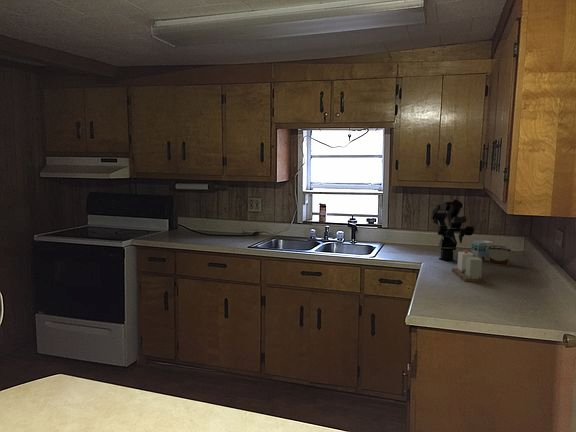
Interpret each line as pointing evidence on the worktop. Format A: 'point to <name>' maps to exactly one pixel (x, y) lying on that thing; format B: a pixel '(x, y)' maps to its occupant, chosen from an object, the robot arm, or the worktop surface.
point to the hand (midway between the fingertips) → (458, 243)
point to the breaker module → (463, 259)
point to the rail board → (466, 278)
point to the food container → (499, 255)
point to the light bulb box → (481, 249)
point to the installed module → (473, 267)
